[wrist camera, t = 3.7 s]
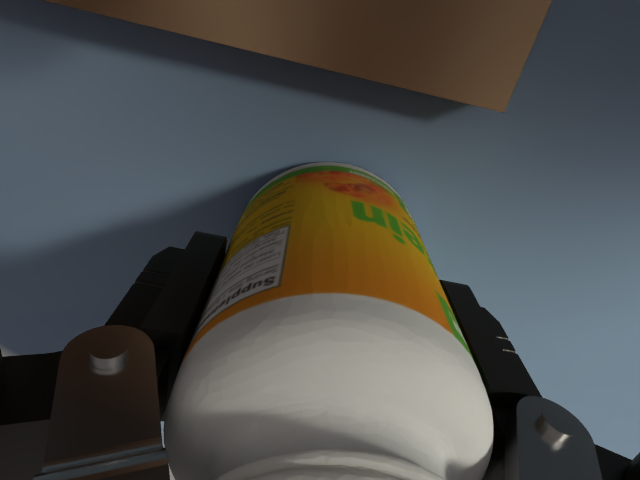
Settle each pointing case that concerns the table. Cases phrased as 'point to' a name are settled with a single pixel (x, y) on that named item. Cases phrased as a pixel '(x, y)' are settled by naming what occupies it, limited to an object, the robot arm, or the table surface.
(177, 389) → the supplement bottle
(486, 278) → the table surface
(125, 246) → the table surface
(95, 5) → the collar block
